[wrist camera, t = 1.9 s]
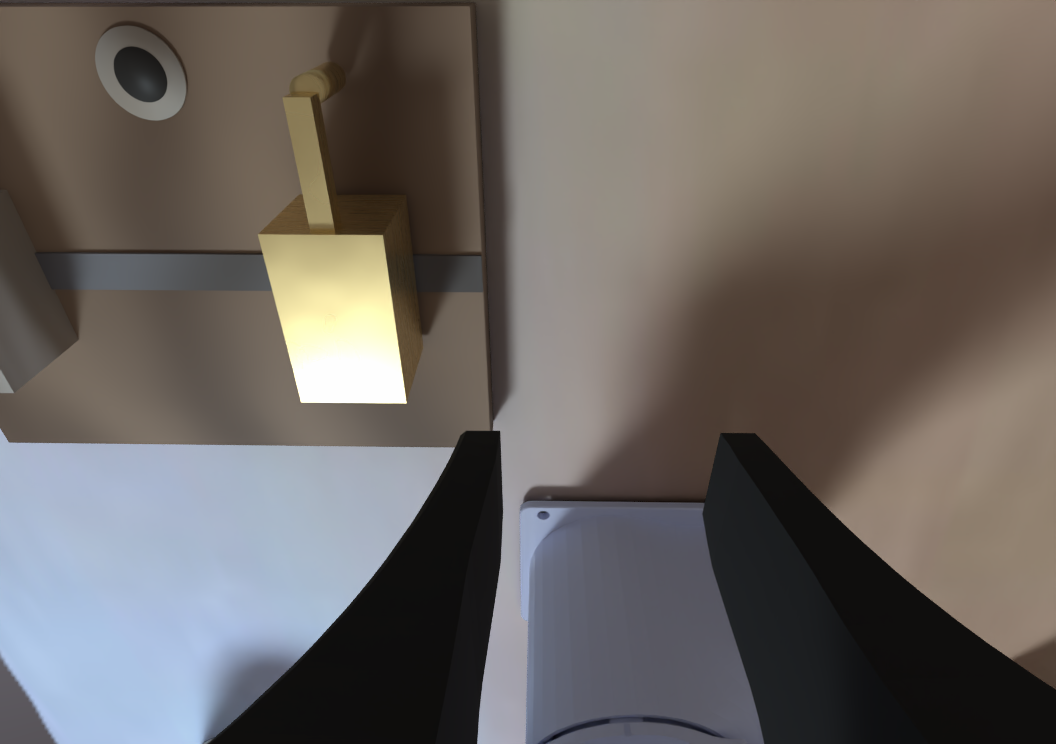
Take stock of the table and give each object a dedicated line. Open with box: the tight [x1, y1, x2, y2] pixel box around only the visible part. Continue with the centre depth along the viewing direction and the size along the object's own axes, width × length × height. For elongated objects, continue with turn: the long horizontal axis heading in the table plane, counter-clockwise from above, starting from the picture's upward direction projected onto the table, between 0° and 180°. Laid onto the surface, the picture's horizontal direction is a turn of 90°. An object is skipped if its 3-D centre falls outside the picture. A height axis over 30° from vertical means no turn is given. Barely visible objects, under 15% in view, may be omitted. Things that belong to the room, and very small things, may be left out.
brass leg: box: [258, 62, 423, 403], centre depth 16 cm, size 3×8×3 cm, turn 0°
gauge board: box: [0, 3, 493, 447], centre depth 18 cm, size 18×14×4 cm
